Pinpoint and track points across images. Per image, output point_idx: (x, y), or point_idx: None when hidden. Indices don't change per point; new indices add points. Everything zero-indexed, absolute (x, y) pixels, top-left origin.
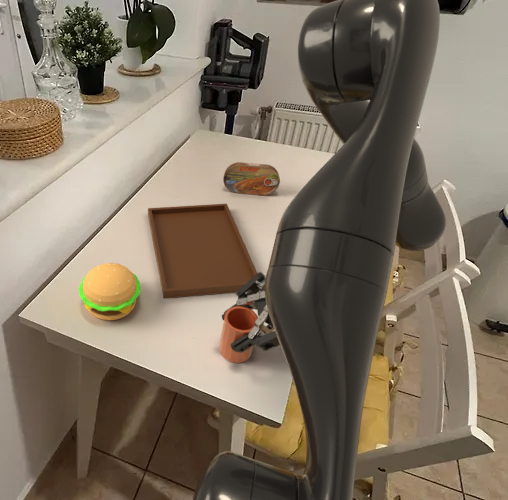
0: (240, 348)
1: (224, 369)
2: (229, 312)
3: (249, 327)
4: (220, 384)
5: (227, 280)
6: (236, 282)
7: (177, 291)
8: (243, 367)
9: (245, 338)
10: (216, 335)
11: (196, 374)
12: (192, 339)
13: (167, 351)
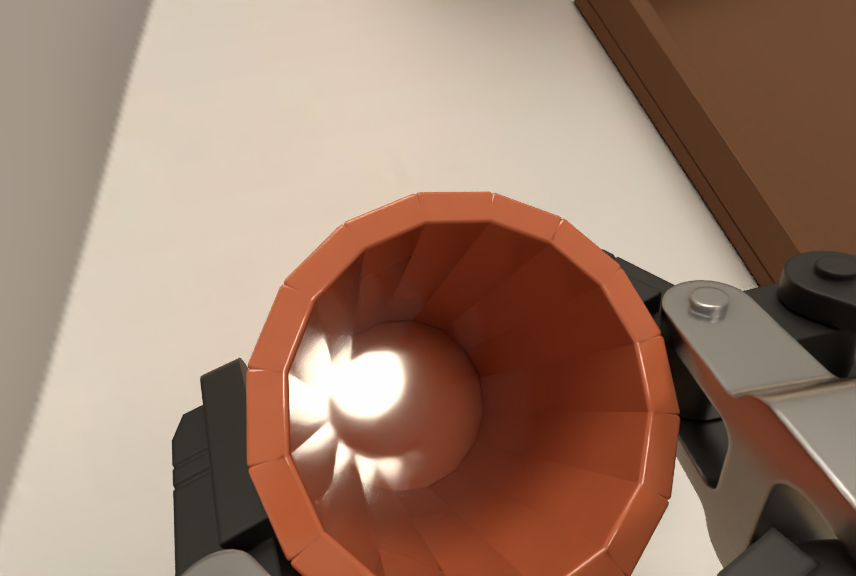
0: (179, 465)
1: None
2: (517, 232)
3: (517, 474)
4: (124, 376)
5: None
6: None
7: (632, 21)
8: None
9: (218, 511)
10: None
11: (161, 232)
12: (387, 168)
13: (269, 70)
